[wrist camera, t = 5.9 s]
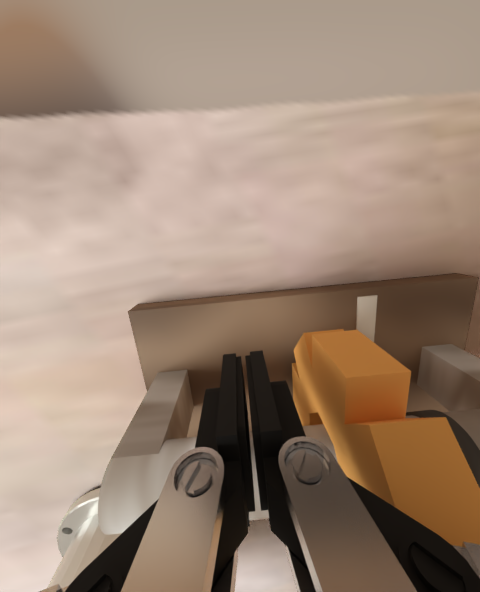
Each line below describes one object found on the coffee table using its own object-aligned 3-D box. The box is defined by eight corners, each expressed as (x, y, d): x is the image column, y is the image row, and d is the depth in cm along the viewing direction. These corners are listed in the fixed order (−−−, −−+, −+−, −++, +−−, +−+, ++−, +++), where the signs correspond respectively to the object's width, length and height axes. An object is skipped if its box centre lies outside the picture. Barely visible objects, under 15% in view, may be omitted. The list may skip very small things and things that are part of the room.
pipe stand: (431, 415, 19) (609, 577, 10) (168, 441, 19) (110, 628, 10) (456, 273, 15) (750, 325, 7) (137, 304, 15) (9, 398, 7)
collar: (321, 444, 17) (477, 815, 6) (294, 447, 17) (403, 823, 6) (322, 302, 14) (633, 543, 3) (289, 306, 14) (487, 557, 3)
